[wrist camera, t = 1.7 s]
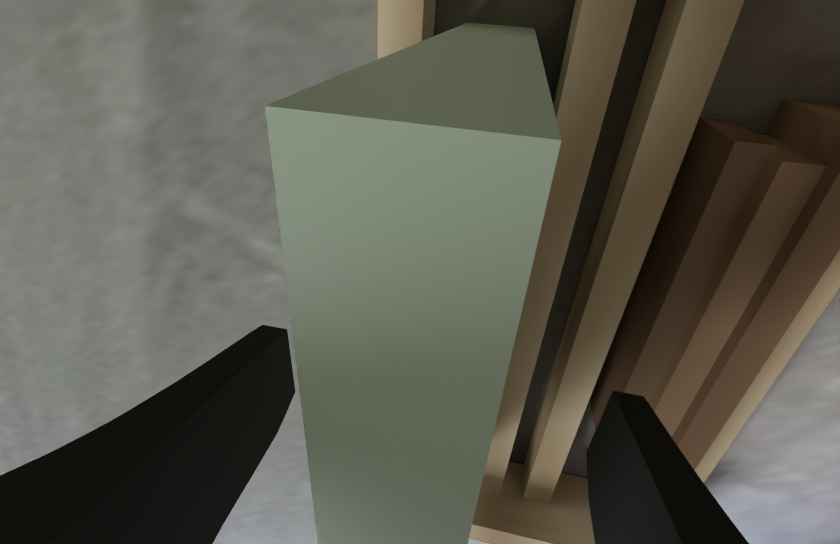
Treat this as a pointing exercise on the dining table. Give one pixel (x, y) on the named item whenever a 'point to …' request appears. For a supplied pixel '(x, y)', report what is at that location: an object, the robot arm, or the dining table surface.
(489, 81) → the large sage green box
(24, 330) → the dining table surface
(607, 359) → the offcut stack
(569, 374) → the offcut rack
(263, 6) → the dining table surface
